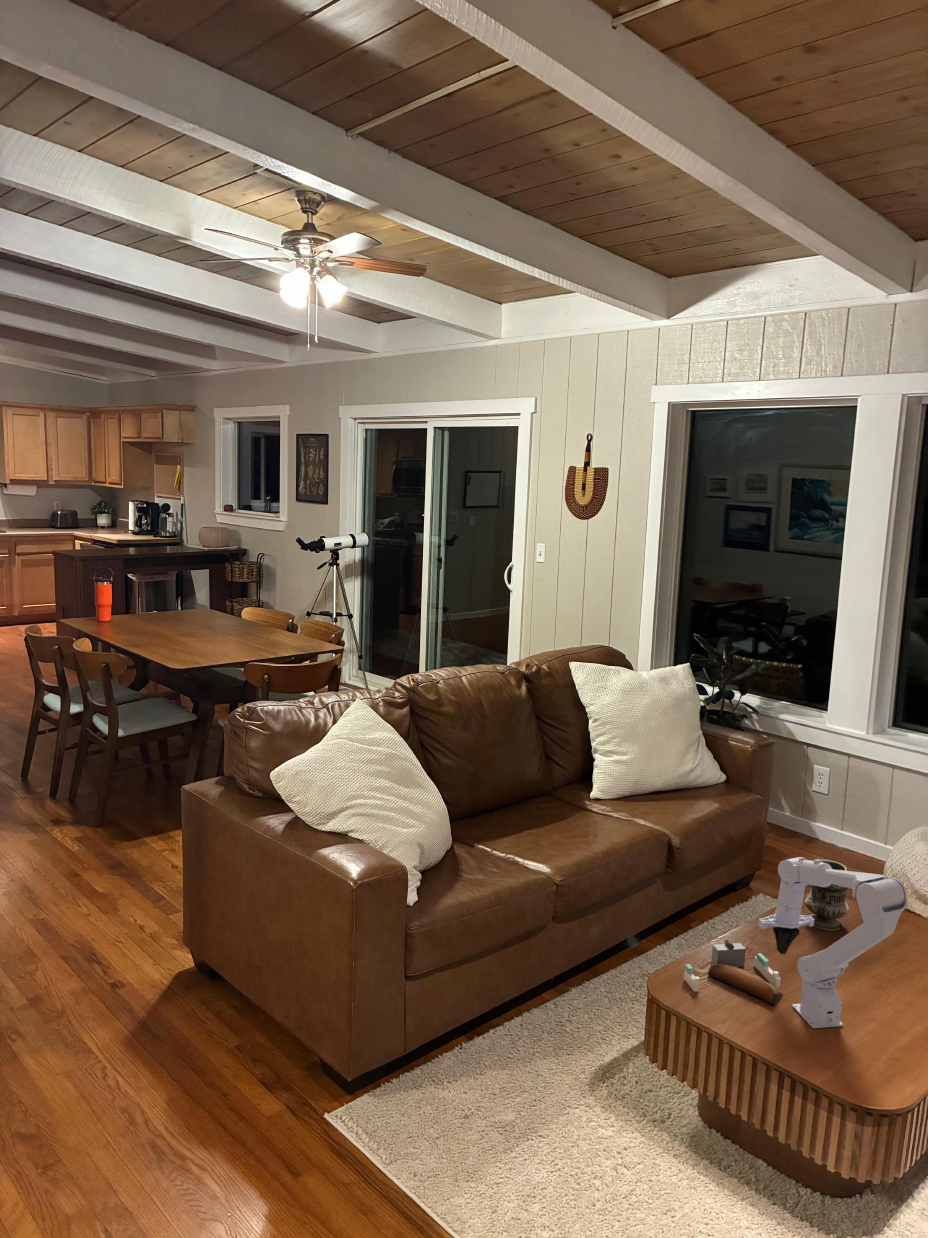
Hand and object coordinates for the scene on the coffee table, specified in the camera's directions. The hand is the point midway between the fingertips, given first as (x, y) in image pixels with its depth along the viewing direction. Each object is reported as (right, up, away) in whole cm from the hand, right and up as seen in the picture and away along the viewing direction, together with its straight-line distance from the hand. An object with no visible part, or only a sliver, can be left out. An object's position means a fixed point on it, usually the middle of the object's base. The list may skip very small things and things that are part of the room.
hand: (781, 951), depth 230 cm
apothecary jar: (+26, -6, +38) cm, 46 cm away
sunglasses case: (-8, -10, +2) cm, 13 cm away
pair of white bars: (-12, -9, +4) cm, 16 cm away
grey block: (-10, -8, +12) cm, 18 cm away
